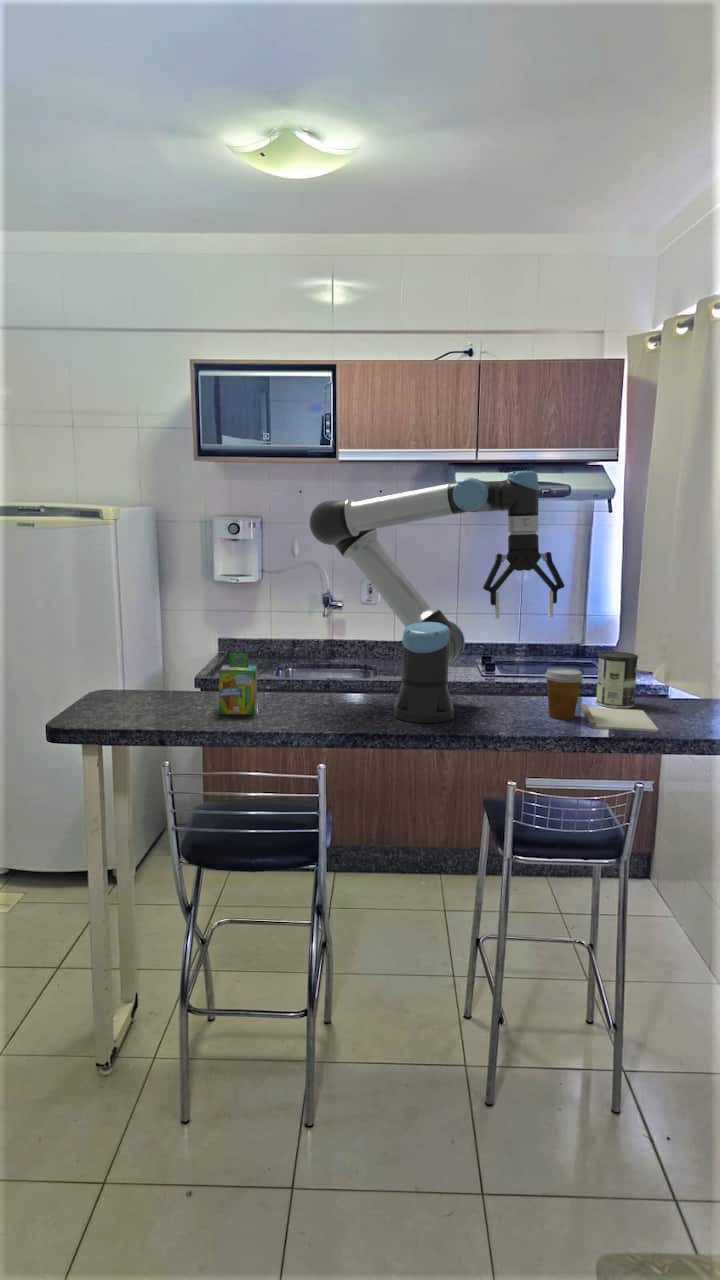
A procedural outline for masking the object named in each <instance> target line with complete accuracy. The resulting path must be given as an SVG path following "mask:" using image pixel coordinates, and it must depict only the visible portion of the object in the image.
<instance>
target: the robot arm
mask: <svg viewBox="0 0 720 1280" xmlns="http://www.w3.org/2000/svg"><path fill="white" fill-rule="evenodd" d="M538 476H539V475H538V473H537V472H536V471H534V470H518V471H517V470H516V471H510V472H509V473H508V474H507V478H506V479H504V480H491V481H490V480H489V481H488V480H487V481H485V480H480V479H478V478H473V477H468V478H464V479H462V480H459V481H454V482H451V483H446V484H440V485H435V486H429V487H424V488H419V489H413V490H408V491H404V492H399V493H395V494H389V495H384V496H383V495H382V496H378V497H373V498H369V499H362V500H359V501H358V500H357V501H355V500H354V499H352V498H347V499H341V500H326V501H322V502H320V503H319V504H317V505H316V506H315V507H314V509H313V510H312V512H311V514H310V517H309V528H310V532H311V533H312V534H311V535H313V537H314V538H315V539H316V540H317V541H318V542H320V543H322V544H324V545H329V546H334V547H335V548H336V549H337V551H338V552H339V553H340V554H341V556H342V557H343V558H344V559H350V560H352V561H353V562H354V563H355V565H356V566H357V567H358V568H359V569H360V571H361V572H362V574H363V575H364V576H365V578H366V579H367V580H368V581H369V583H370V584H371V585H372V586H373V587H374V589H375V590H376V591H377V592H378V594H379V595H380V597H381V598H382V599H383V601H384V602H385V603H386V605H388V607H389V608H390V609H391V611H392V612H393V613H394V615H395V616H396V617H397V618H398V619H399V621H400V622H401V623H402V625H403V626H404V627H405V628H404V630H403V635H402V642H401V643H402V660H401V661H402V665H401V671H402V672H401V687H400V689H399V693H398V696H397V698H396V701H395V703H394V706H393V707H394V708H393V710H394V711H393V716H394V717H395V718H397V719H399V720H402V721H405V722H409V723H411V722H412V723H417V724H418V723H419V724H421V723H422V724H439V723H445V722H449V721H451V720H453V718H454V714H455V713H454V712H455V711H454V708H455V707H454V705H453V702H452V698H451V695H450V691H449V685H448V684H449V666H451V665H453V664H454V663H455V662H457V661H458V660H459V658H460V657H461V655H462V654H463V652H464V649H465V645H466V641H465V639H466V638H465V634H464V632H463V631H462V629H461V628H460V627H459V626H458V625H457V624H456V623H455V622H453V621H450V620H449V619H448V618H447V617H446V616H445V614H443V612H442V610H440V609H439V608H433V607H431V606H430V605H429V604H428V602H427V601H426V599H425V598H424V597H423V596H422V594H421V593H420V592H419V590H417V588H416V587H415V586H414V585H413V583H412V581H410V579H409V578H408V577H407V576H406V574H405V573H404V572H403V570H401V568H400V567H399V565H397V563H396V562H395V560H394V559H393V558H392V557H391V555H390V554H389V553H388V552H387V550H386V549H385V548H384V547H383V545H382V543H380V541H379V540H378V530H377V529H381V528H386V527H391V526H396V525H403V524H408V523H412V522H414V523H415V522H419V521H425V520H431V519H434V518H441V517H446V516H452V515H457V514H463V513H464V514H465V513H479V512H497V511H498V512H499V511H501V512H502V511H507V517H508V518H507V532H508V533H510V534H509V535H508V536H507V537H508V539H507V543H508V545H507V547H508V549H507V550H508V551H507V554H503V553H496V554H495V560H494V564H493V565H492V567H491V569H490V572H489V574H488V575H487V578H486V580H485V582H484V584H483V587H482V589H483V590H484V591H486V592H489V593H490V596H489V597H490V598H489V599H490V601H489V602H490V605H491V606H494V618H495V619H499V620H500V593H499V592H498V590H499V589H500V587H501V586H502V585H503V583H504V582H506V580H507V579H508V578H509V576H510V575H511V574H512V573H513V572H514V571H518V572H520V571H528V572H529V571H531V570H533V571H534V572H535V573H536V574H537V575H538V576H539V577H540V578H541V580H542V581H543V582H544V583H545V584H546V585H547V587H548V588H550V590H547V617H550V618H553V617H554V604H557V602H558V591H559V590H561V589H563V588H565V586H566V585H565V583H564V582H563V579H562V578H561V575H560V573H559V572H558V569H557V568H556V566H555V564H554V562H553V557H552V553H551V551H546V552H543V553H540V552H539V548H540V547H539V546H540V545H539V534H537V532H539V491H540V489H539V477H538ZM541 559H542V561H543V562H545V563H546V566H547V567H548V570H549V572H550V574H551V576H552V577H553V579H554V581H555V583H556V584H555V583H554V582H553V580H552V579H551V578H550V577H549V576H548V575H547V573H545V571H544V570H543V569H542V568H541V566H539V564H538V562H539V561H540V560H541ZM505 560H507V562H508V563H509V565H508V566H507V567H506V569H505V570H504V571H503V572H502V574H501V575H500V577H498V578H497V580H496V581H495V582H493V581H494V579H495V578H496V576H497V573H498V571H499V569H500V567H501V566H502V565H501V564H502V563H504V561H505ZM493 583H494V584H493Z"/></svg>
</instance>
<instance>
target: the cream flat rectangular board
mask: <svg viewBox="0 0 720 1280" xmlns="http://www.w3.org/2000/svg"><path fill="white" fill-rule="evenodd" d="M580 710H581V712H582V714H583V716H584V718H585V720H586V722H587V724H588V726H589V728H590V729H600V730H601V729H602V730H618V731H632V732H633V731H634V732H651V733H659V732H660V731H659V730H660V729H659V728H658V727H657V726H656V725H655V723H654V721H652V719H651V718H650V717H649V715H647V714H646V712H645V711H644V710H643V709H630V708H624V709H619V708H609V707H591V706H589V707H588V705H587V703H580Z"/></svg>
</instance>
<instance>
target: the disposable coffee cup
mask: <svg viewBox="0 0 720 1280" xmlns="http://www.w3.org/2000/svg"><path fill="white" fill-rule="evenodd" d="M544 676H545V679H546V688H547V702H548V703H547V704H548V706H547V707H548V716H549V717H550V718H552V719H555V720H561V719H562V720H564V721H565V720H566V721H567V720H568V721H569V720H573V719H575V713H576V709H577V704H578V699H579V693H580V688H581V684H582V681H583V679H584V676H583V673H582V671H581V670H578V669H576V668H575V669H574V668H565V667H553V668H548V669H547V670H546V673H544Z"/></svg>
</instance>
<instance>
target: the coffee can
mask: <svg viewBox="0 0 720 1280" xmlns="http://www.w3.org/2000/svg"><path fill="white" fill-rule="evenodd" d="M638 658H639V655H637V654H635V653H633V652H632V653H631V652H623V651H602V652H599V653H598V666H597V667H598V668H597V670H598V671H597V682H596V683H597V685H596V700H595V704H596V705H598V706H601V707H602V708H611V709H631V708H635V696H636V695H635V694H636V693H635V692H636V680H637V679H636V678H637V669H638V668H637V667H638Z"/></svg>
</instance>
